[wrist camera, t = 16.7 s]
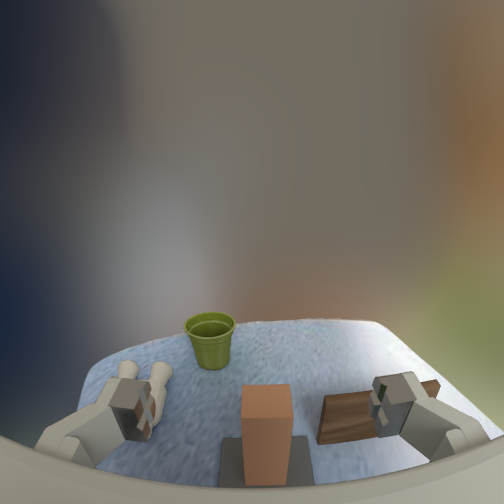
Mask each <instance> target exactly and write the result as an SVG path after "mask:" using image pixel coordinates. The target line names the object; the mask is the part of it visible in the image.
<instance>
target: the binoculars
mask: <svg viewBox="0 0 504 504" xmlns="http://www.w3.org/2000/svg"><path fill="white" fill-rule="evenodd" d="M118 370H119V372H118V377H119V378H128V379H135V378H136V377H137V375H138V374H139V367H138V365H137V364H136V363H135V362H133V361H130V360H123V361H121V362H120V364H119V366H118ZM172 374H173V370H172V368H171V366H170V365H169V364H167V363H165V362H162V361H158V362H155V363H154V364H153V365H152V367H151V374H150V378H149V380H143V381H148V382H150V385H151V388H152V390H151V392H150V394H151V395H152V396H153V397H154V399H155V403H156V414H155V418H154V421H153V422H152V423H150V424H149V426H150V429H151V431H150V434H149V437H148V439H149V438H150V437H151V433H152V429H153V428H152V427H154V426H156V425H157V424H158V423H159V421H160V420H161V417H162V413H163V408H164V404H165V399H166V395H167V390H166V388H165V386H166V384H167V382H168V380H169V379H170V378H171V377H172Z"/></svg>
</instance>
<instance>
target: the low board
mask: <svg viewBox="0 0 504 504" xmlns="http://www.w3.org/2000/svg"><path fill="white" fill-rule="evenodd" d="M420 383H421V385H422V386H423V388H424V390H425V391H426V393H427V395H428V396H429V398H431V397H433V398H435V399H436V396H437V394H438V392H439V389H440V387H441V385H440V384H439V382H438V381H437V380H436V379H435V380H430V381H425V382H420ZM372 391H373V390H371V391H363V392H355V393H346V394H336V395H325V396H324V401H323V407H322V413H321V418H320V423H319V429H318V434H317V441H318V445H324V444H333V443H341V442H349V441H356V440H362V439H369V438H374V437H378V435H377V432H376V429H375V427H374V424H375V421H376V420H375V419H373V418H372V417H371V416H370V413H369V409H368V400H369V395H370V393H371V392H372Z"/></svg>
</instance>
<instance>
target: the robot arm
mask: <svg viewBox="0 0 504 504" xmlns="http://www.w3.org/2000/svg"><path fill="white" fill-rule="evenodd" d="M372 386H373V388H374V390H373V391H372V392H371V393H370V395H369V400H368V409H369V413H370V416H371V417H372V418H373V419H375V420H376V421H375V424H374V427H375V429H376V432H377V435H378V437H379V438H383V437H389V436H395V435H399V436H400V437H402V438H403V439H404V440H405V441H407V442H408V443H409V444H410V445H412V446H413V447H414V448H415V449H417V450H418V451H419V452H420V453H422V454H423V455H424V456H425V457H427V458H428V459H429V460H430V461H429V463H426V464H423V465H419V466H416V467H412V468H408V469H404V470H400V471H396V472H392V473H388V474H383V475H378V476H373V477H368V478H363V479H357V480H351V481H344V482H337V483H330V484H321V485H312V486H300V487H285V488H216V487H201V486H190V485H181V484H172V483H165V482H158V481H151V480H145V479H139V478H134V477H129V476H124V475H119V474H114V473H110V472H106V471H102V470H98V469H97V468H96V467H95V466H96V465H97V464H99V463H100V462H101V461H102V460H103V459H105V458H106V457H107V456H108V455H109V454H111V453H112V452H113V451H114V450H115V449H116V448H118V447H119V446H120V445H121V444H122V443H124V442H125V440H131V441H139V442H147V440H148V437H149V434H150V431H151V429H150V426H149V424H150V423H152V422H153V421H154V418H155V414H156V403H155V399H154V397H153V396H152V395H151V394H150V392H151V390H152V388H151V385H150V382H148V381H143V380H135V379H128V378H119V377H110V378H109V379H108V381H107V382H106V384H105V386H104V388H103V389H102V391H101V393H100V395H99V397H98V398H97V400H96V402H95V404H93V403H91V404H89V405H87V406H86V407H84V408H82V409H80V410H78V411H77V412H75V413H73V414H71V415H69V416H68V417H66V418H64V419H62V420H60V421H59V422H57V423H55V424H53V425H51V426H49V427H47V428H46V429H45V431H44V432H43V434H42V436H41V437H40V439H39V441H38V442H37V444H36V446H35V447H34V449H31V448H29V447H26V446H23V445H21V444H19V443H16V442H14V441H12V440H9V439H7V438H5V437H3V436H1V435H0V504H504V435H502V436H499V437H497V438H495V439H493V440H490V438H489V437H488V435H487V434H486V432H485V431H484V429H483V427H482V426H481V424H480V423H479V421H478V420H476V419H474V418H472V417H470V416H468V415H466V414H464V413H462V412H460V411H458V410H456V409H455V408H453V407H451V406H449V405H447V404H445V403H443V402H441V401H439V400H437V399H435V398H433V397H431V398H429V396H428V395H427V393H426V391H425V390H424V388H423V386H422V385H421V383H420V382H419V380H418V378H417V377H416V375H415V374H414V372H412V371H410V372H404V373H400V374H393V375H387V376H380V377H375V379H374V381H373V384H372Z"/></svg>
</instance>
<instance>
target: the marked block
mask: <svg viewBox="0 0 504 504" xmlns="http://www.w3.org/2000/svg"><path fill="white" fill-rule="evenodd" d="M292 427H293V409H292V401H291V393H290V385H289V384H278V385H242V404H241V430H242V445H243V459H244V474H245V486H260V485H286V478H287V470H288V462H289V454H290V445H291V436H292Z"/></svg>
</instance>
